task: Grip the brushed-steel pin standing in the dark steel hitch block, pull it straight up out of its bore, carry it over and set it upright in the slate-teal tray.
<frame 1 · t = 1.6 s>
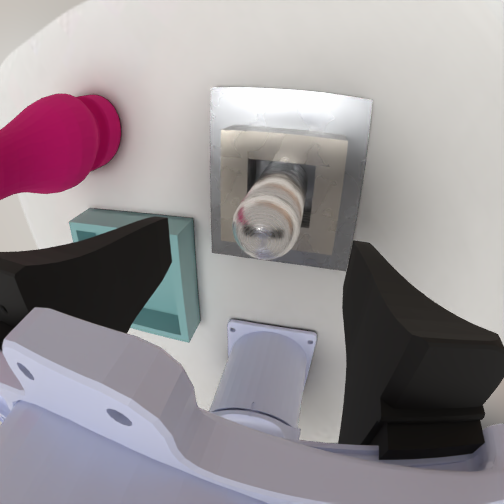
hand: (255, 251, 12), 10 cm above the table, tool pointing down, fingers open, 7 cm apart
hitch plate: (286, 177, 21), on the table
tray: (143, 265, 27), on the table
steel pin: (284, 181, 20), point 1 cm above the table, touching hitch plate
pepper mill: (93, 130, 22), on the table
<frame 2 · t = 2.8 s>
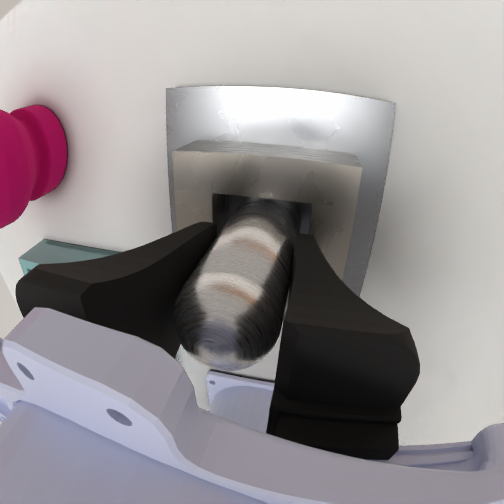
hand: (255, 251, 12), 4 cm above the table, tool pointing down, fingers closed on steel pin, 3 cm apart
hitch plate: (272, 210, 15), on the table
tray: (106, 307, 22), on the table
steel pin: (269, 218, 15), point 1 cm above the table, touching gripper, hitch plate
pepper mill: (40, 148, 17), on the table
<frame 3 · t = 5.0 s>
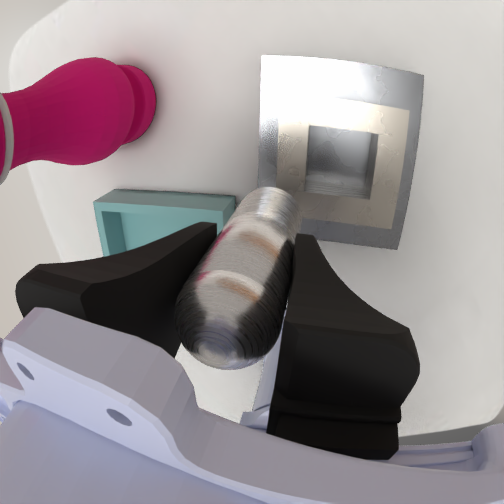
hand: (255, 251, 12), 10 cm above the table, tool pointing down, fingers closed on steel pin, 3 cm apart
hitch plate: (338, 151, 19), on the table
tray: (174, 251, 26), on the table
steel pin: (269, 217, 15), point 7 cm above the table, touching gripper
pepper mill: (123, 103, 20), on the table
when the fingers open (5 cm above the table, at t = 7.4 s): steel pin drops 1 cm, resting on tray.
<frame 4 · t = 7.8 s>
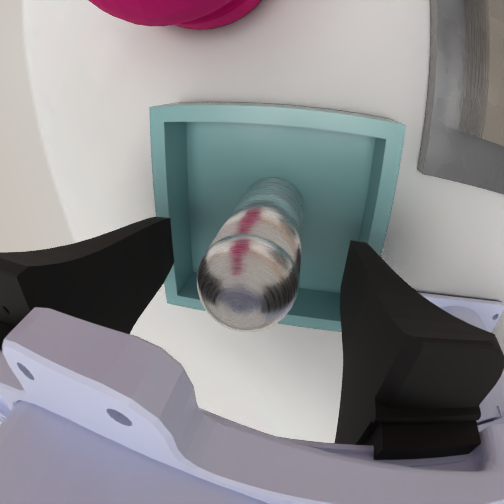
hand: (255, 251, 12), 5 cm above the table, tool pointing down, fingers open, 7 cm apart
tray: (274, 205, 16), on the table
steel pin: (273, 206, 15), point 1 cm above the table, touching tray
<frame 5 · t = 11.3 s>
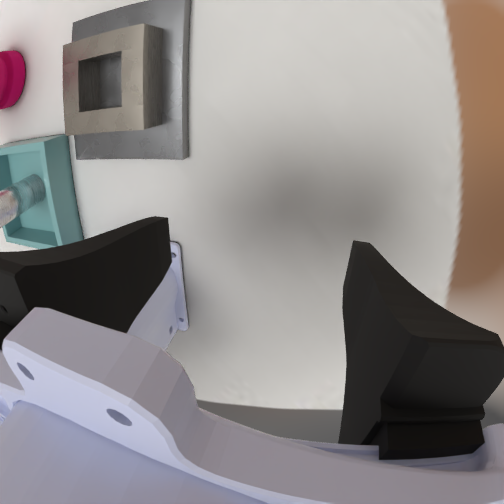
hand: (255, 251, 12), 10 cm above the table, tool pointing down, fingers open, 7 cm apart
hitch plate: (127, 80, 19), on the table
tray: (40, 188, 26), on the table
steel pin: (35, 188, 25), point 1 cm above the table, touching tray
pepper mill: (11, 78, 20), on the table
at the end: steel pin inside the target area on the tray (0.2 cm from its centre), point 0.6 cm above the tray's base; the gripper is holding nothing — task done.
